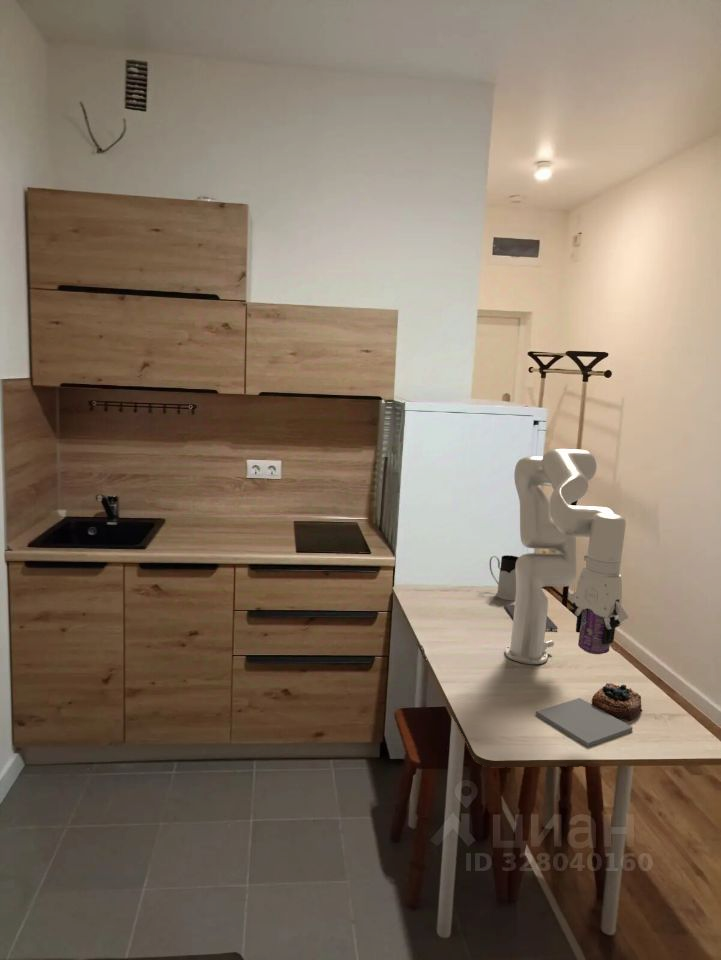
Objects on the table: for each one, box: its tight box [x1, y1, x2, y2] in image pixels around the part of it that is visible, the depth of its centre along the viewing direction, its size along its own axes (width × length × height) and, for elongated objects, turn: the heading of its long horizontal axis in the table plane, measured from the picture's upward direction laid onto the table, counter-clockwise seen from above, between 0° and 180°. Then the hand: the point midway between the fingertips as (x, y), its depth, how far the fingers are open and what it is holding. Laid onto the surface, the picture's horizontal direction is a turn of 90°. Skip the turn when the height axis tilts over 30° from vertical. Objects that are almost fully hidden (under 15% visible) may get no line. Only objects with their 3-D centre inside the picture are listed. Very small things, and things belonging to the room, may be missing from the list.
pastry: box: [590, 682, 643, 722], centre depth 174 cm, size 11×12×6 cm
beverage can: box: [577, 608, 612, 655], centre depth 162 cm, size 7×7×12 cm
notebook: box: [503, 604, 559, 632], centre depth 235 cm, size 13×2×21 cm
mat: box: [535, 697, 634, 748], centre depth 166 cm, size 16×16×1 cm
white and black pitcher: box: [489, 554, 520, 601], centre depth 258 cm, size 9×14×15 cm, turn 41°
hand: (593, 636), depth 162 cm, fingers closed on beverage can, 7 cm apart
